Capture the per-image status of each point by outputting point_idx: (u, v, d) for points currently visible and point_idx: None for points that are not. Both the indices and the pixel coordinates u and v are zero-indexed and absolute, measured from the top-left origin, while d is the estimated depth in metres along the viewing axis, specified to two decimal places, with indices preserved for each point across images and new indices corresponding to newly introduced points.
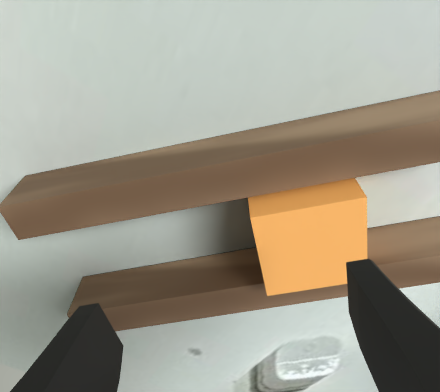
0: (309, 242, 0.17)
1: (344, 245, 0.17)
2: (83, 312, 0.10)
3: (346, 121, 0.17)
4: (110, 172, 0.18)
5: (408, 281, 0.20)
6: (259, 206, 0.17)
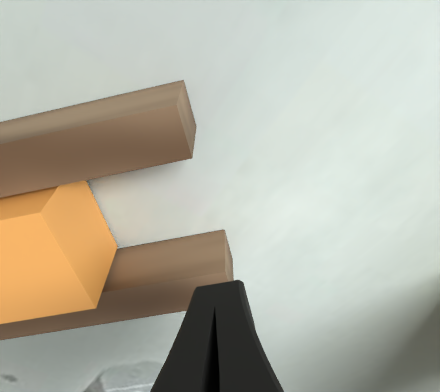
0: (1, 265, 0.14)
1: (45, 269, 0.15)
2: (206, 292, 0.10)
3: (43, 121, 0.14)
4: None
5: (170, 306, 0.17)
6: None
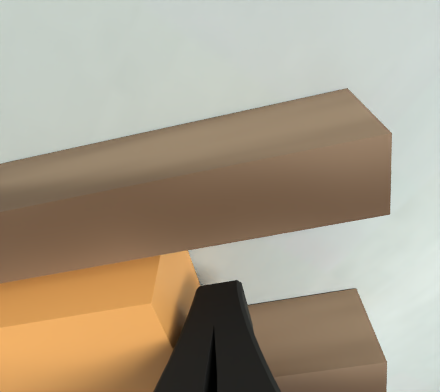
0: (77, 370, 0.10)
1: (143, 375, 0.10)
2: (208, 292, 0.10)
3: (142, 151, 0.09)
4: None
5: None
6: None
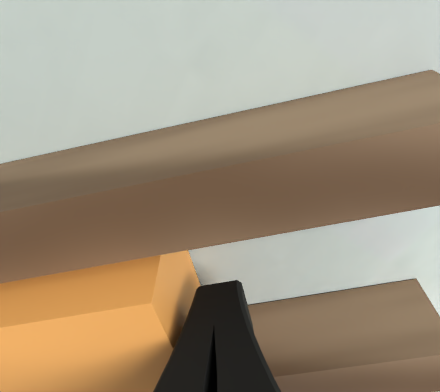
0: (77, 370, 0.10)
1: (143, 375, 0.10)
2: (208, 292, 0.10)
3: (226, 134, 0.09)
4: None
5: None
6: None
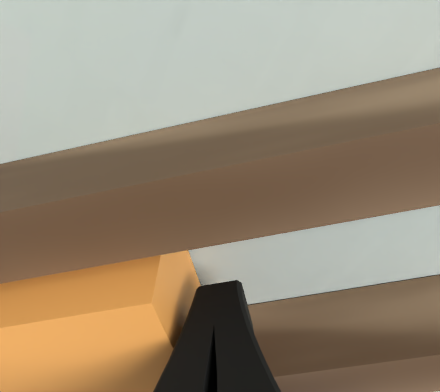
0: (77, 370, 0.10)
1: (143, 375, 0.10)
2: (208, 292, 0.10)
3: None
4: (37, 180, 0.09)
5: None
6: None
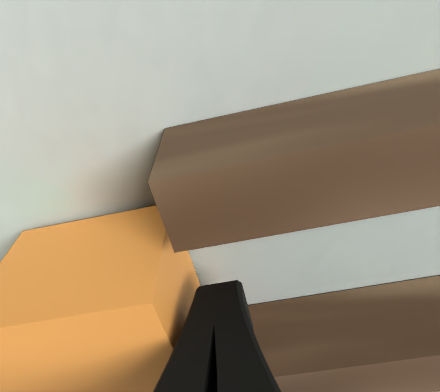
0: (77, 370, 0.10)
1: (143, 375, 0.10)
2: (208, 292, 0.10)
3: None
4: (378, 108, 0.08)
5: None
6: None
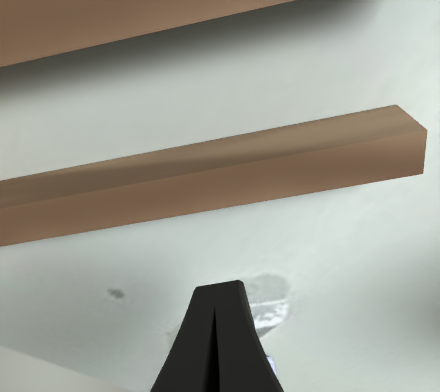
0: None
1: None
2: (206, 292, 0.10)
3: None
4: None
5: (351, 177, 0.16)
6: None
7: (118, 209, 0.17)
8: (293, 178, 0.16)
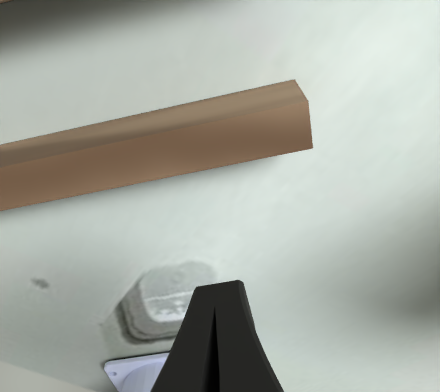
0: None
1: None
2: (206, 292, 0.10)
3: None
4: None
5: (239, 153, 0.15)
6: None
7: (6, 191, 0.16)
8: (179, 155, 0.15)
